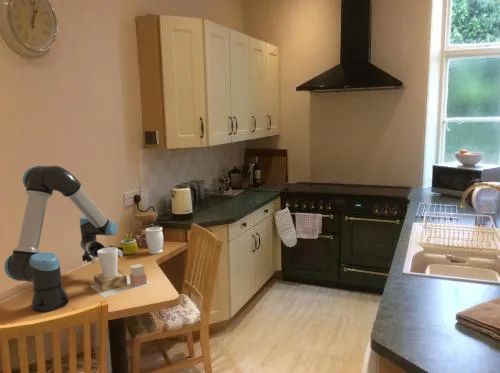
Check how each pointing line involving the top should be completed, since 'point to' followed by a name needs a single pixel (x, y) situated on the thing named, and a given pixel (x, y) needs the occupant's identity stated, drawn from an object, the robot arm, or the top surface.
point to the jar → (154, 239)
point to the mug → (129, 245)
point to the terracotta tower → (137, 275)
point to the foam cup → (108, 261)
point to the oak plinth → (110, 281)
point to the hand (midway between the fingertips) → (108, 257)
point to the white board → (118, 290)
